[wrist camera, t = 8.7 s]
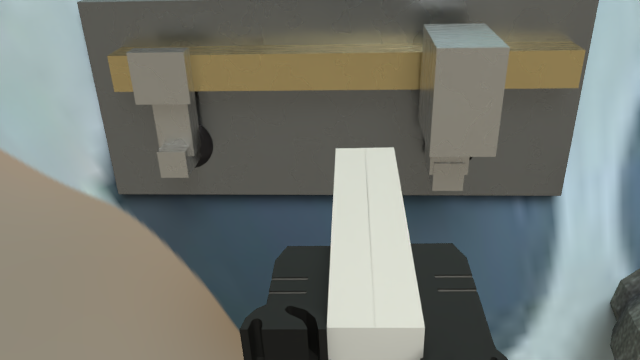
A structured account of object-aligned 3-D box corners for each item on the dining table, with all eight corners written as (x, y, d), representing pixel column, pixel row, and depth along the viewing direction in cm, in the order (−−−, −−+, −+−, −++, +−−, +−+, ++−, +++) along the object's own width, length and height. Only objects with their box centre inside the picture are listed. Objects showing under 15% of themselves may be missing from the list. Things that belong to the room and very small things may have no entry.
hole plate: (85, -1, 31) (76, 2, 30) (592, -11, 30) (600, -7, 29) (124, 186, 37) (118, 194, 36) (555, 188, 35) (561, 196, 34)
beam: (119, 40, 31) (97, 53, 29) (573, 33, 30) (594, 47, 27) (141, 156, 35) (123, 177, 32) (551, 155, 33) (568, 178, 30)
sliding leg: (419, 16, 30) (436, 48, 23) (476, 15, 29) (509, 47, 23) (411, 157, 33) (425, 218, 27) (462, 157, 33) (487, 219, 27)
